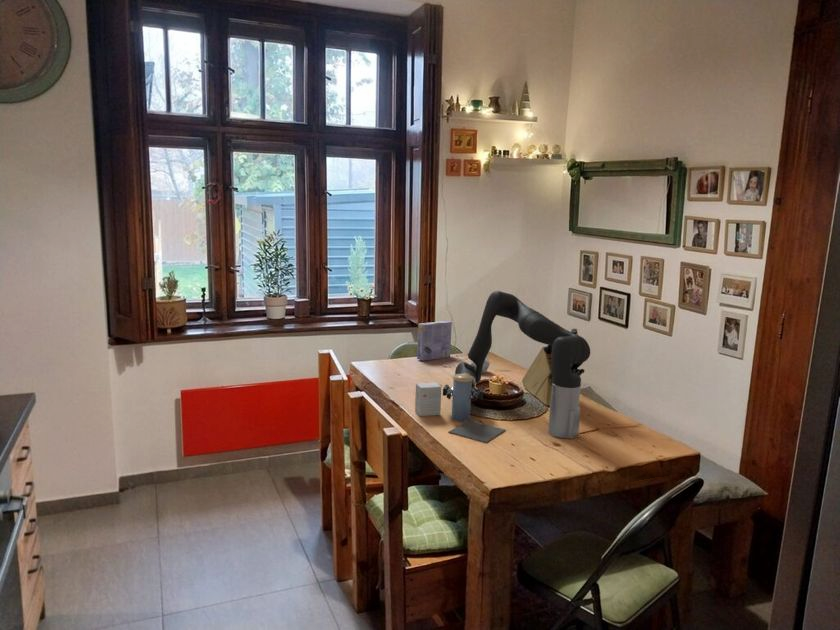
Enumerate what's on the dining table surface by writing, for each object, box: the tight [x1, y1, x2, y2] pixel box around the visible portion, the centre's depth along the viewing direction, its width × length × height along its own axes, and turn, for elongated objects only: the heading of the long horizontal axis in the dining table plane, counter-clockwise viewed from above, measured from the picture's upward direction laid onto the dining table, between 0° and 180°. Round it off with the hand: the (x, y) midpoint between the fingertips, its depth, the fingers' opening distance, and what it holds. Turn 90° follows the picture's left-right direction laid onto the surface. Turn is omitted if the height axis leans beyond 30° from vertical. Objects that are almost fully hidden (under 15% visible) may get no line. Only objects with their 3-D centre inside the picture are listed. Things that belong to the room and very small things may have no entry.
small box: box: [414, 381, 442, 417], centre depth 225 cm, size 8×6×10 cm
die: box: [470, 356, 491, 374], centre depth 282 cm, size 8×9×10 cm
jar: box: [451, 374, 472, 422], centre depth 220 cm, size 7×7×15 cm
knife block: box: [522, 327, 585, 407], centre depth 245 cm, size 11×35×31 cm, turn 12°
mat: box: [448, 419, 507, 444], centre depth 209 cm, size 14×14×1 cm
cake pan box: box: [416, 320, 453, 362], centre depth 303 cm, size 19×5×18 cm, turn 130°
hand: (461, 397), depth 218 cm, fingers open, 8 cm apart
